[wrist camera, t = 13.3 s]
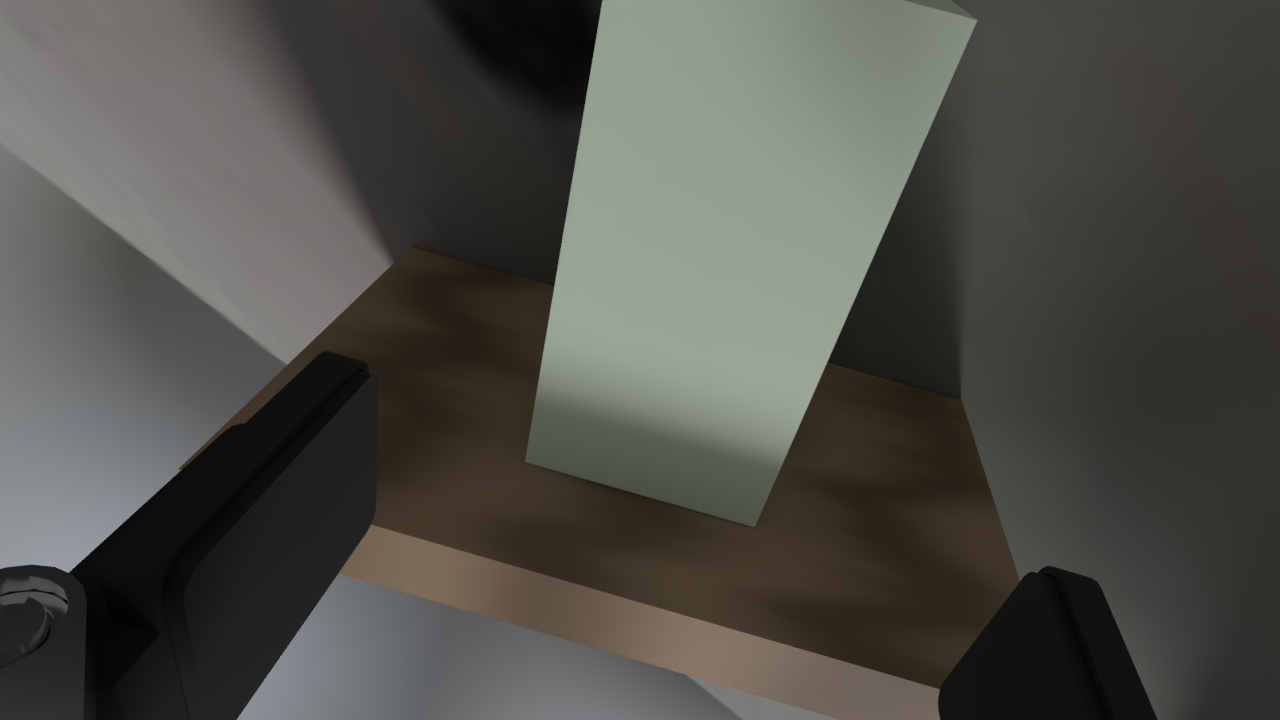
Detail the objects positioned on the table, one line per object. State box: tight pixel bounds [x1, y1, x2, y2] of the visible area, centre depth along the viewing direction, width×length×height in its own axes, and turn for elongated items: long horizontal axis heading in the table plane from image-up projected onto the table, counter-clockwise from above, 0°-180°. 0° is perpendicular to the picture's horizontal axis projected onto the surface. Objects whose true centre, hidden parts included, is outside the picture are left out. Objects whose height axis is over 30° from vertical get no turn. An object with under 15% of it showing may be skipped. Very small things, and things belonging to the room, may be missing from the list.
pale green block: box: [525, 0, 977, 527], centre depth 19 cm, size 6×13×9 cm, turn 168°
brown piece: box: [179, 247, 1020, 720], centre depth 17 cm, size 20×16×12 cm
